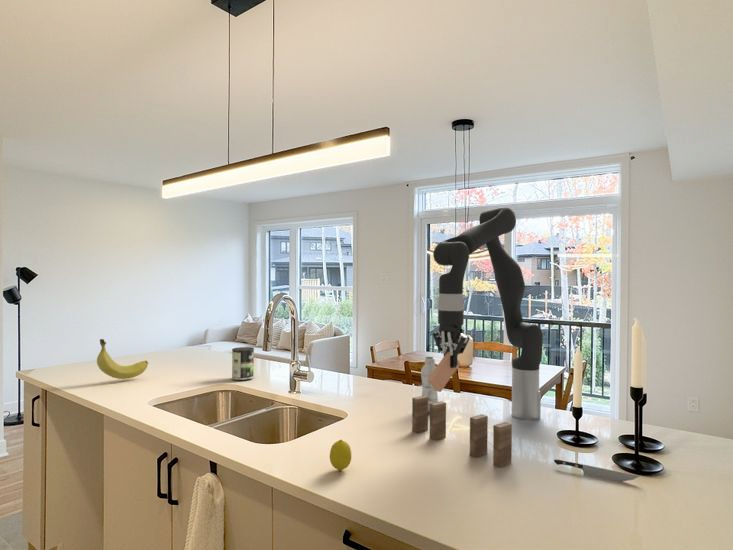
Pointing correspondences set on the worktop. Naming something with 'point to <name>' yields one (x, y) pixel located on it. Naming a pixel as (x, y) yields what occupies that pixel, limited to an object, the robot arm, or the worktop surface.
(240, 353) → the coffee can
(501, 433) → the domino
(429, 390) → the plastic bottle
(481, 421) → the domino
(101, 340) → the banana
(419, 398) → the domino
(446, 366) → the domino
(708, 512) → the worktop surface
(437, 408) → the domino
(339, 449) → the lemon
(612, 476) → the chef's knife
